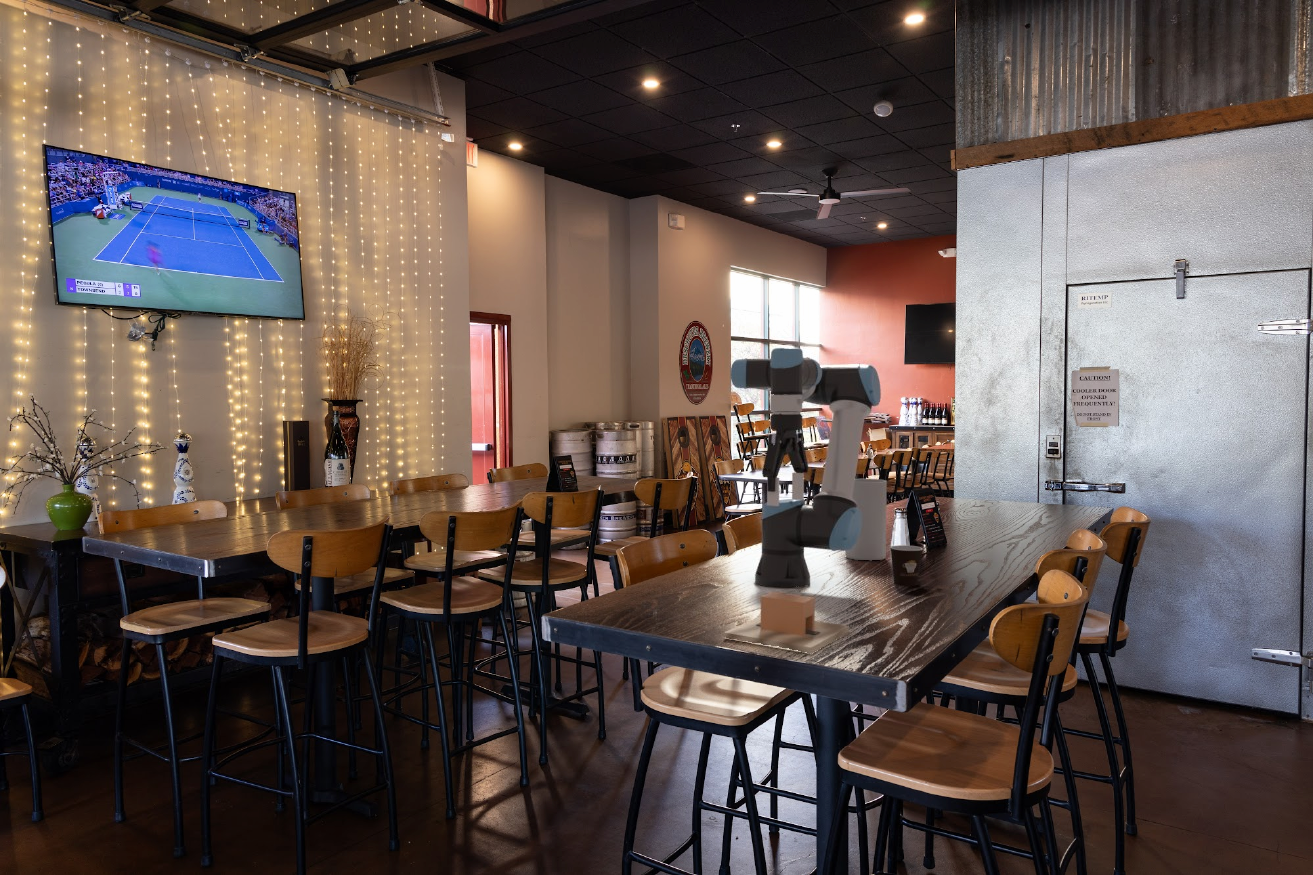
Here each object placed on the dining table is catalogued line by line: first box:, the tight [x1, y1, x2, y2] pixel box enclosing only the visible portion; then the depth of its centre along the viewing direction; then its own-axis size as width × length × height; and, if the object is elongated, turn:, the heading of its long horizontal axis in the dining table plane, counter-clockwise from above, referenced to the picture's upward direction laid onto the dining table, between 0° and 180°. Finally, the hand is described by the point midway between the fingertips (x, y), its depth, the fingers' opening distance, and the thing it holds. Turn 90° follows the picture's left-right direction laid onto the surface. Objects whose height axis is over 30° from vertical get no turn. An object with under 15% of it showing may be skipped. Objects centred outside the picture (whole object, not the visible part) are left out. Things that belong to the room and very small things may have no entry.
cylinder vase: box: [844, 478, 888, 562], centre depth 282 cm, size 12×12×25 cm
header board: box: [723, 615, 850, 655], centre depth 189 cm, size 20×20×4 cm
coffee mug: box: [889, 544, 936, 587], centre depth 243 cm, size 12×9×10 cm
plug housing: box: [760, 591, 816, 636], centre depth 189 cm, size 10×6×7 cm, turn 56°
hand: (785, 502), depth 209 cm, fingers open, 13 cm apart
